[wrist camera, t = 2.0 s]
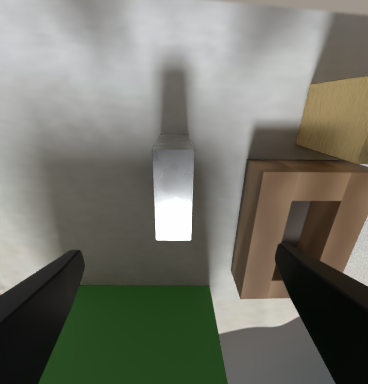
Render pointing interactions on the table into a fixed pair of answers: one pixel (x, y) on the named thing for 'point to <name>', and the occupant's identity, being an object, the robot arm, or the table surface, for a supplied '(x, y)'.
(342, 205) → the socket block
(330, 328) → the robot arm
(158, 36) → the table surface
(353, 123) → the square bit
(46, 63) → the table surface
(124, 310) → the hardback book
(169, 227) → the block
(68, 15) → the table surface
